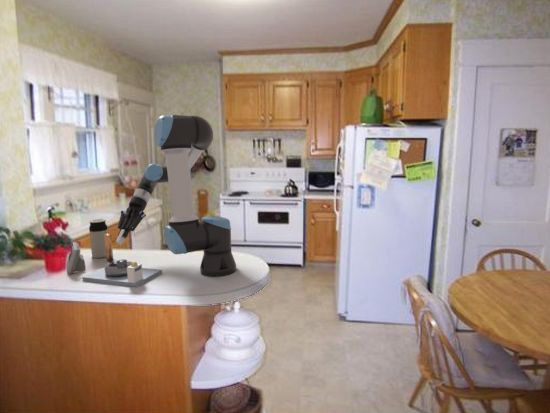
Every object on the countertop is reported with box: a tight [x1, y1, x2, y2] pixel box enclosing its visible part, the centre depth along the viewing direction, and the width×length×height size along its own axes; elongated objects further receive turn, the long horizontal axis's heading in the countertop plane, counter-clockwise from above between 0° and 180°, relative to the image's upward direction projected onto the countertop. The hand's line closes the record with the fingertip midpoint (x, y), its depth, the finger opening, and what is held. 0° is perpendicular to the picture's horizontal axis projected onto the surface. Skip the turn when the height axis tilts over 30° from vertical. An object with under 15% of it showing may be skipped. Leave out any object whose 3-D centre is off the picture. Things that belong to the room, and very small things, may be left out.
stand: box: [82, 261, 163, 288], centre depth 155 cm, size 26×16×9 cm, turn 72°
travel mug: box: [88, 218, 109, 259], centre depth 185 cm, size 8×8×18 cm
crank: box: [104, 233, 133, 277], centre depth 157 cm, size 17×12×14 cm
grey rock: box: [66, 241, 86, 275], centre depth 167 cm, size 16×9×11 cm, turn 19°
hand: (118, 243), depth 169 cm, fingers closed
